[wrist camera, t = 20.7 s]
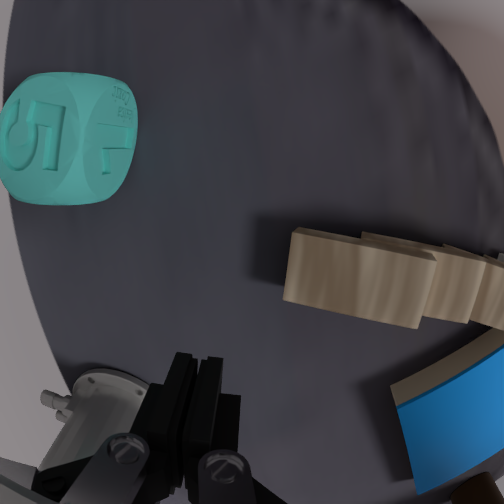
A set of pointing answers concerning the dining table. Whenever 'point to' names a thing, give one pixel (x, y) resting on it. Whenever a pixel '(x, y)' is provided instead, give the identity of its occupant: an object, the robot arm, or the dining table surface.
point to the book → (454, 411)
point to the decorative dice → (67, 138)
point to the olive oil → (478, 491)
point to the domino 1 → (358, 277)
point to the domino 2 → (446, 278)
